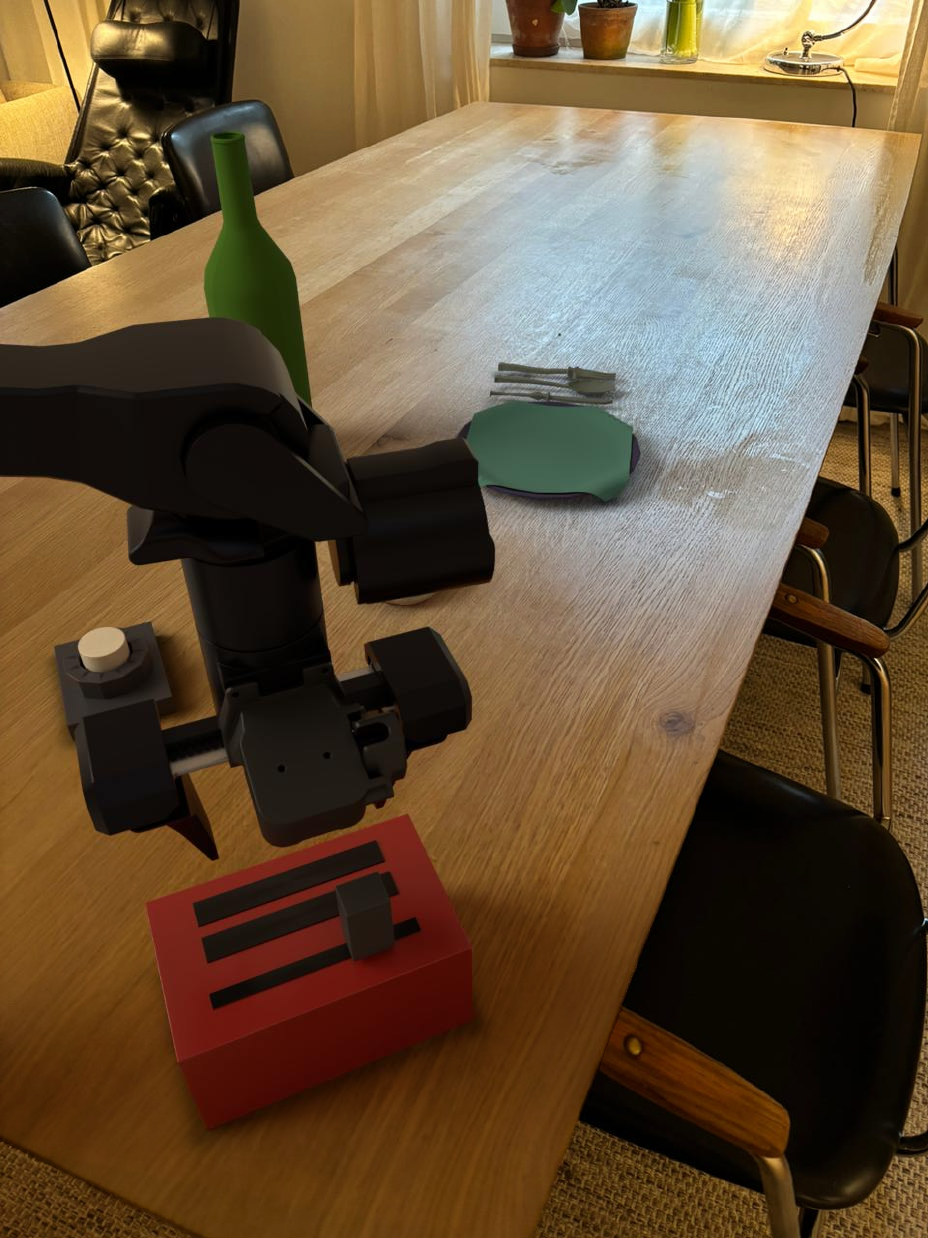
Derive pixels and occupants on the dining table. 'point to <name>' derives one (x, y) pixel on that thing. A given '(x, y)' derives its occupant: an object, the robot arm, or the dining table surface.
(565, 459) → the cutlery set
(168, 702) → the block
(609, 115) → the dining table surface
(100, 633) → the button
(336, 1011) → the toaster
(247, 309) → the wine bottle
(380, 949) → the slider
